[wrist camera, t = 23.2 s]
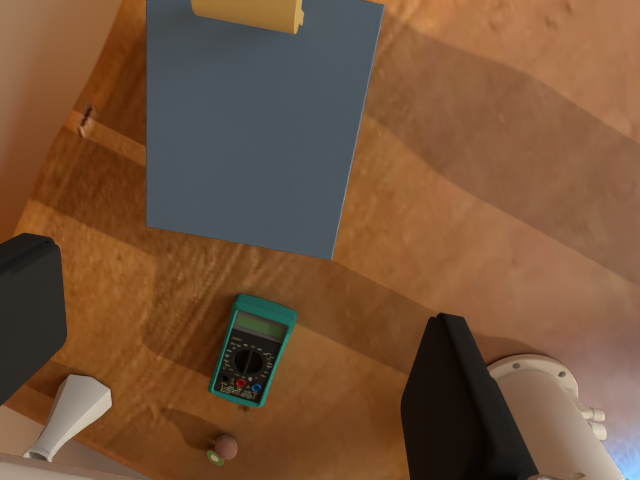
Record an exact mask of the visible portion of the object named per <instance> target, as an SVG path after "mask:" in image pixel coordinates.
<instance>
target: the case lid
mask: <svg viewBox="0 0 640 480" xmlns="http://www.w3.org/2000/svg"><path fill="white" fill-rule="evenodd" d="M384 8H385V5H383V4H378V3H373V2H368V1H363V0H146V226H147V227H153V228H158V229H164V230H169V231H175V232H180V233H186V234H191V235H197V236H202V237H207V238H213V239H218V240H224V241H229V242H235V243H240V244H246V245H251V246H257V247H262V248H268V249H273V250H279V251H284V252H290V253H295V254H301V255H306V256H312V257H317V258H323V259H328V260H332V256H333V251H334V247H335V242H336V237H337V232H338V228H339V223H340V218H341V213H342V208H343V204H344V199H345V194H346V189H347V185H348V180H349V175H350V170H351V165H352V161H353V156H354V151H355V146H356V142H357V137H358V132H359V127H360V122H361V118H362V113H363V108H364V103H365V98H366V94H367V89H368V84H369V79H370V75H371V70H372V65H373V60H374V55H375V51H376V46H377V41H378V36H379V32H380V27H381V22H382V17H383V12H384Z"/></svg>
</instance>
